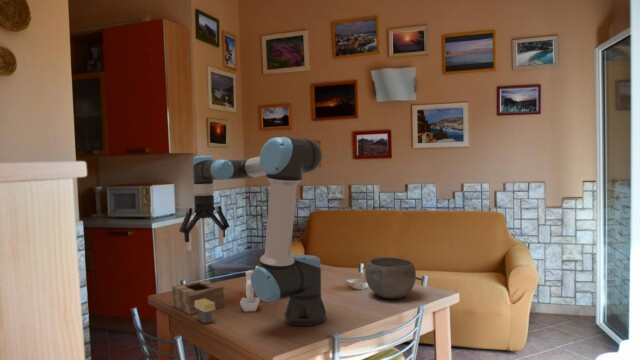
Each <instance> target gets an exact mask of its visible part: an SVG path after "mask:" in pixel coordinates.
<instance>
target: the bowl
mask: <svg viewBox="0 0 640 360" xmlns="http://www.w3.org/2000/svg"><path fill="white" fill-rule="evenodd" d="M364 272H365V273H364V276H365V280H366V283H367V285H368V287H369V288H370V290H371V291H372V292H374V293H375V294H376V295H378V296H380V297H381V298H384V299H389V300H397V299H398V300H399V299H402V298H403V297H406V296H407V295H408V294H410V292H412V290H413V288H414V286H415V283H416V280H417V277H416V276H417V275H416V274H417V273H416V267H415V265H414V263H413V261H411V260H408V259H405V258H400V257H393V256H383V257H382V256H381V257H374V258H370V259H369V260H368V262H367V264H366V265H365V271H364Z"/></svg>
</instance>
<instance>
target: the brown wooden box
mask: <svg viewBox="0 0 640 360" xmlns="http://www.w3.org/2000/svg"><path fill="white" fill-rule="evenodd" d="M224 291H225V290H224V286H221V285H219V284H216V283H213V282H211V281H208V280H205V279H204V280H199V281H193V282H188V283H184V284H178V285H174V286H173V285H172V305H173V308H176V309H178V310H179V311H182V312H183V313H186V314H187V315H189V316H193V315H199V309H197V308H195V300H200V299H204V298H205V299H207V300H210V301H212V302H214V303H215V310H218V309H223V308H225V301H224V300H225V299H224V298H225V295H224Z"/></svg>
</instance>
